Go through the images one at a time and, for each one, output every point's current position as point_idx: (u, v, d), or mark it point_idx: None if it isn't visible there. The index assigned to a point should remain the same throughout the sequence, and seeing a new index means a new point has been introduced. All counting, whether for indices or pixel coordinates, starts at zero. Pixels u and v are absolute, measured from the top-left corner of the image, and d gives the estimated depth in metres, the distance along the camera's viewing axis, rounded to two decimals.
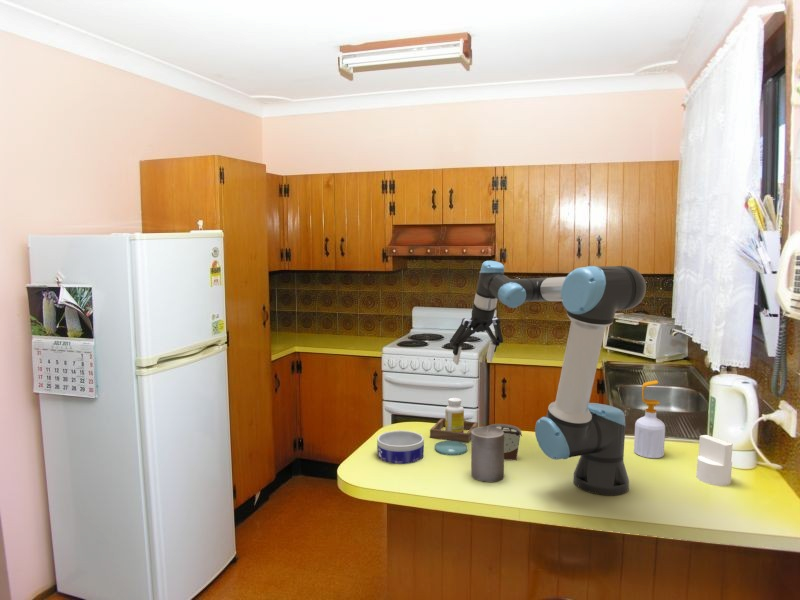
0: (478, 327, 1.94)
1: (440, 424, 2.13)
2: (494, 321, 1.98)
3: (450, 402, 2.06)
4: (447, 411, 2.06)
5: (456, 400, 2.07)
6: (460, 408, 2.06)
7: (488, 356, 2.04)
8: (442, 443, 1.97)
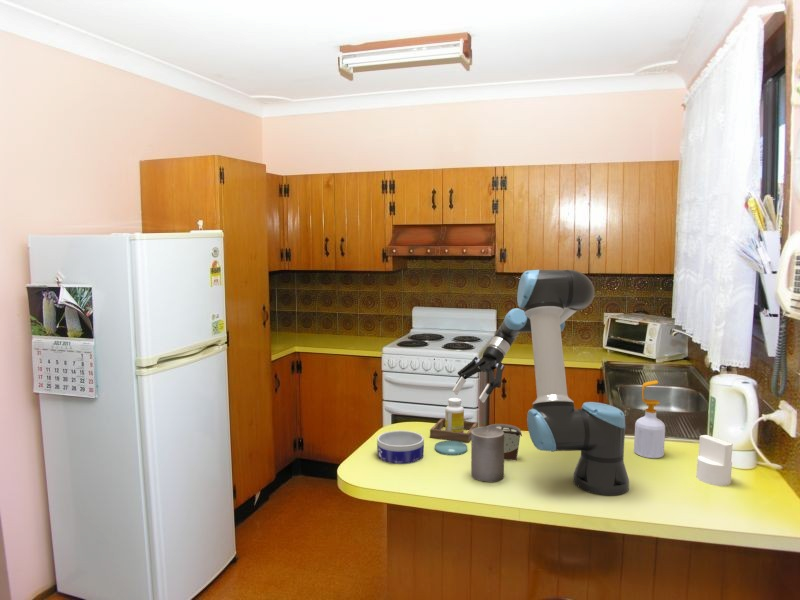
0: (480, 362, 2.18)
1: (440, 424, 2.13)
2: None
3: (450, 402, 2.06)
4: (447, 411, 2.06)
5: (456, 400, 2.07)
6: (460, 408, 2.06)
7: None
8: (442, 443, 1.97)
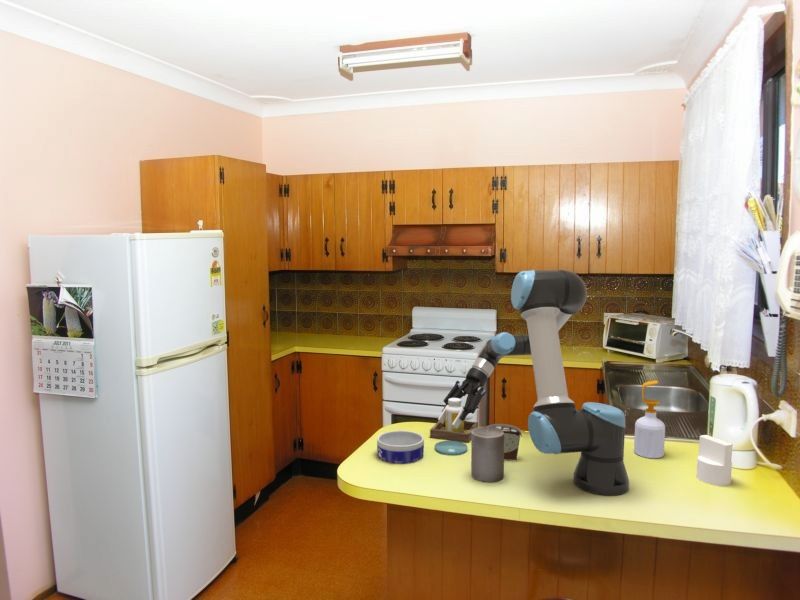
0: (464, 384, 2.12)
1: (440, 424, 2.13)
2: None
3: (450, 402, 2.06)
4: (447, 411, 2.06)
5: (456, 400, 2.07)
6: (460, 408, 2.06)
7: None
8: (442, 443, 1.97)
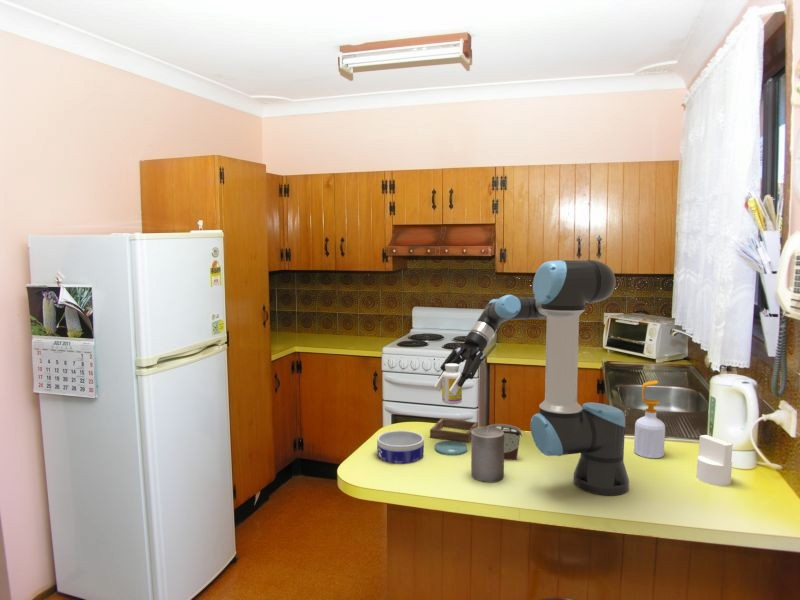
0: (462, 349, 1.98)
1: (440, 424, 2.13)
2: None
3: (447, 367, 1.92)
4: (444, 377, 1.92)
5: (453, 365, 1.92)
6: (458, 373, 1.92)
7: None
8: (442, 443, 1.97)
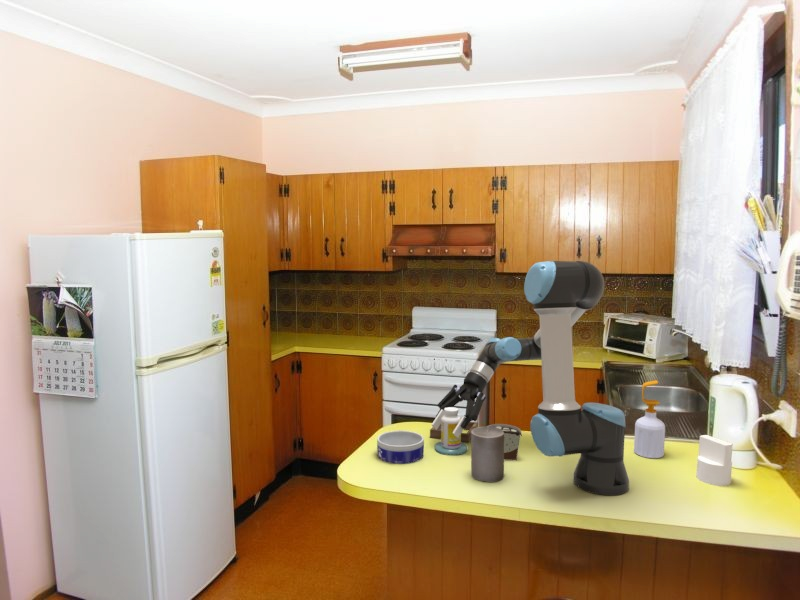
0: (461, 389, 1.97)
1: (440, 424, 2.13)
2: None
3: (446, 412, 1.91)
4: (443, 421, 1.91)
5: (453, 410, 1.92)
6: (457, 418, 1.91)
7: None
8: None
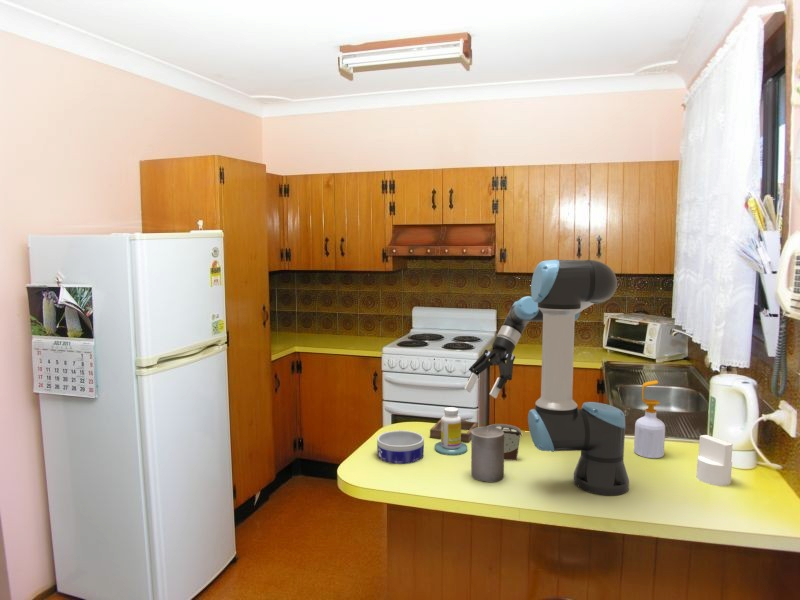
0: (490, 354, 2.04)
1: (440, 424, 2.13)
2: (508, 355, 1.99)
3: (446, 412, 1.91)
4: (443, 422, 1.91)
5: (453, 410, 1.92)
6: (457, 418, 1.91)
7: None
8: None
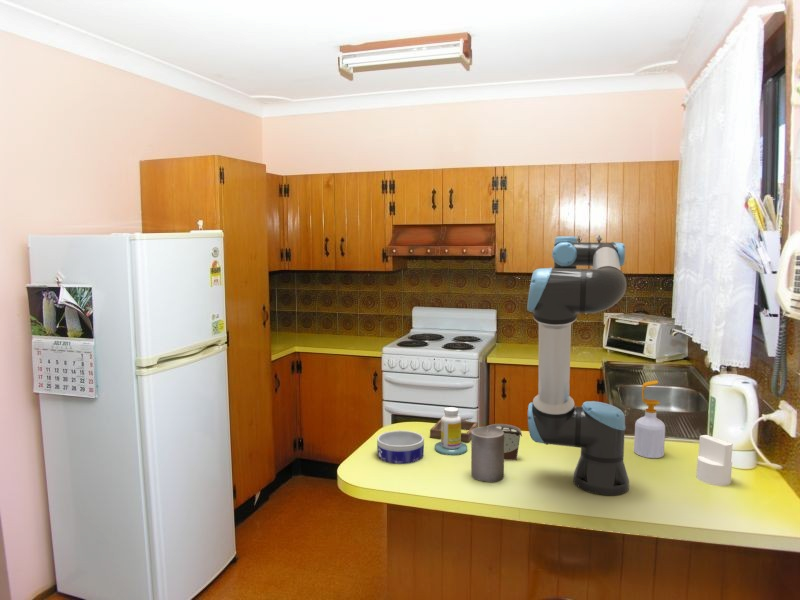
0: None
1: (440, 424, 2.13)
2: None
3: (446, 412, 1.91)
4: (443, 422, 1.91)
5: (453, 410, 1.92)
6: (457, 418, 1.91)
7: None
8: None
